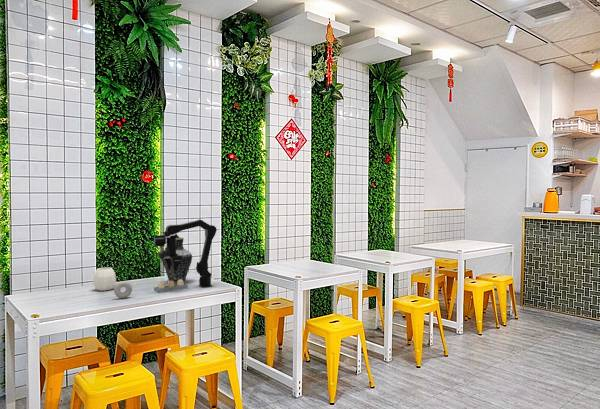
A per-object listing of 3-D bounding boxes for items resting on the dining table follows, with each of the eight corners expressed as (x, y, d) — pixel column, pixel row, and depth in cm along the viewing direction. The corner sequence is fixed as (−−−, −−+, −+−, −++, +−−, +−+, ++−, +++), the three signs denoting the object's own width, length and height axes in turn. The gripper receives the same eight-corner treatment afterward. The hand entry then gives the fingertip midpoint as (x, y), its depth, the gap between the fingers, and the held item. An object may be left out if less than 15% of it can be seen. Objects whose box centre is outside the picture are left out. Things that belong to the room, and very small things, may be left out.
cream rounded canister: (97, 293, 296) (97, 270, 296) (90, 289, 306) (90, 268, 305) (119, 289, 305) (119, 268, 304) (111, 286, 315) (111, 265, 314)
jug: (189, 278, 339) (188, 235, 338) (195, 283, 321) (194, 238, 320) (158, 281, 331) (157, 237, 330) (162, 286, 313) (162, 240, 312)
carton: (183, 286, 312) (183, 277, 312) (187, 288, 307) (187, 279, 307) (154, 290, 300) (153, 281, 300) (158, 292, 295) (158, 283, 295)
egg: (172, 287, 306) (172, 279, 306) (175, 288, 303) (175, 280, 303) (166, 288, 304) (166, 280, 304) (169, 289, 301) (169, 281, 301)
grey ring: (114, 300, 277) (114, 282, 276) (113, 298, 280) (113, 281, 279) (133, 297, 282) (132, 280, 281) (131, 296, 285) (131, 279, 284)
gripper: (153, 245, 305) (153, 270, 305) (164, 247, 290) (165, 274, 290) (170, 243, 311) (170, 268, 312) (182, 246, 297) (182, 271, 297)
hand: (171, 270), depth 303 cm, fingers open, 9 cm apart
